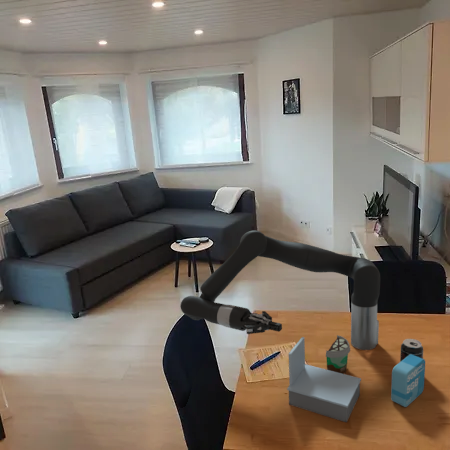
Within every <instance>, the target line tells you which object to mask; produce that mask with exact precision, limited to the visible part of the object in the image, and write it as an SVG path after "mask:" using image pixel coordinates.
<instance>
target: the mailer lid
mask: <svg viewBox="0 0 450 450" xmlns="http://www.w3.org/2000/svg"><path fill="white" fill-rule="evenodd" d="M305 342H306V341H305V337H304V336H302V337H301V338H300V339H299V340H298V341H297V343H296V344H295V345H294V347H292V349H291V350H290V351H289V352H288V377H289V378H288V379H289V380H288V381H289V385H288V387H287V388H286V390H287V391H288V392H289V391H292V392H296V393H299V394H302V395H306V396H309V397H313V398H316V399H319V400H323V401H326V402H330V403H333V404H336V405H340V406H343V407H347V408H348V406H349V404H350V402H351V400H352V398H353V396H354V394H355V392H356V389H357V387H358V385H359V383H360V384H361V381H362V378H361V377H357V376H352V375H350V374H346V373H344V374H342V373H338V372H334V371H330V370H327V368H326V369H325V368H323V367H322V368H321V367H318V366H313V365H311V364H310V365H309V364H308V363H307V364H306V355H305V354H306V353H305V352H306V351H305V350H306V349H305Z"/></svg>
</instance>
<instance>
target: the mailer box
mask: <svg viewBox="0 0 450 450" xmlns="http://www.w3.org/2000/svg"><path fill="white" fill-rule="evenodd" d="M360 392H361V382H360V383H359V385H358V387H357V389H356V392H355V394H354V396H353V398H352V400H351V402H350V404H349V406H348V408H347V407H343V406H340V405H336V404H333V403H330V402H326V401H323V400H319V399H316V398H313V397H309V396H306V395H302V394H299V393H296V392H292V391H289V390H288V405H290V406H293V407H296V408H299V409H303V410H306V411H309V412H311V413H315V414H318V415H321V416H325V417H328V418H331V419H334V420H337V421H340V422H344V423H348V421H349V418H350V417H351V414H352V412H353V410H354V408H355V406H356V404H357V402H358V399H359V397H360V395H361V394H360Z"/></svg>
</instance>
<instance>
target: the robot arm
mask: <svg viewBox="0 0 450 450" xmlns="http://www.w3.org/2000/svg"><path fill="white" fill-rule="evenodd" d="M257 257H260V258H267V259H272V260H276V261H279V262H280V263H283V264H286V265H289V266H290V267H293V268H294V267H295V268H297V269H299V270H304V271H308V272H311V273H336V274H340V275H343V276H345V277H349V278H351V279H352V280H353V292H352V294H351V299H350V300H351V303H350V305H351V308H350V313H351V314H350V345H351V346H353V347H354V348H355V349H358V350H362V351H368V350H369V351H370V350H373V349H375V348H376V346H377V345H378V344H379V325H380V324H379V323H380V322H379V320H378V300H379V297H380V291H381V290H380V289H381V273H380V271H379V268H378V267H377V266H376V265H375V263H373V261H371V260H370V259H368V258H365V257H359V256H351V255H345V254H341V253H338V252H334V251H331V250H328V249H325V248H321V247H318V246H314V245H312V244H311V245H310V244H308V243H307V244H306V243H302V242H296V241H288V240H280V239H277V238H273V237H270V236H268V235H265V234H264V233H263V232H261V231H259V230H250V231H247V232H245V233H244V234H242V236H241V238H240V240H239V244H238V246H237V248H236V249H235V250H234V251H233V252H232V254H231V255H230V256H229V257H228V258H227V259H226V260H225V261H224V262H223V263H222V264H221V265H220V266H219V267H218V268H216V269H215V270H214V271H213V272H212V273H211V274H210V276H209V277H208V278H207V279H206V280H204V282H203V283H202V284H201V285H200V292H201V293H200V295H199V296H195V295H188V296H186V297H184V298H183V299H182V300H181V302H180V311H181V312H182V313H183V314H184V315H185V316H187V317H188V318H190V319H191V320H194V321H200V320H202V319H203V320H205V321H206V322H209V323H212V324H216V325H220V326H223V327H225V328H230V329H231V330H232V329H234V330H237V331H242V332H245V331H246V334H247V335H252V334H253V335H254V334H262V333H263V334H264V333H266V331H274V332H281V331H282V329H283V325H282V323H280V322H276V321H273V317H272V316H271V315H270V314H269V313H267V311H266V310H262V312H261V313H260V314H259V313H256V312H252V311H250V309H249V308H246V307H243V306H237V305H232V304H225V303H219V302H216V299H217V298H218V297H219V296H220V295H221V294H223V292H224V290H225V289H227V287H228V286H229V285H230V284H231V283H232V282H233V280H234V279H235V278H236V277H237V275H238V274H239V273H240V272H241V271H242V270H244V268H245V267H246V266H248V265H249V264H250V263H251V262H252V261H253V260H254V259H256V258H257Z"/></svg>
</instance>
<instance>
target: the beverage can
mask: <svg viewBox="0 0 450 450" xmlns="http://www.w3.org/2000/svg"><path fill="white" fill-rule="evenodd" d="M410 354H412V355H414V356H417V357H419V358H422V359H424V346H422V342H421V341H420V340H418V339H415V338H405V339H404V340H403V341H402V343H401V344H400V356H399V358H400V359H399V363H400V362H401V361H402V360H403V359H405V358H406V357H407V356H408V355H410Z"/></svg>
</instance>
